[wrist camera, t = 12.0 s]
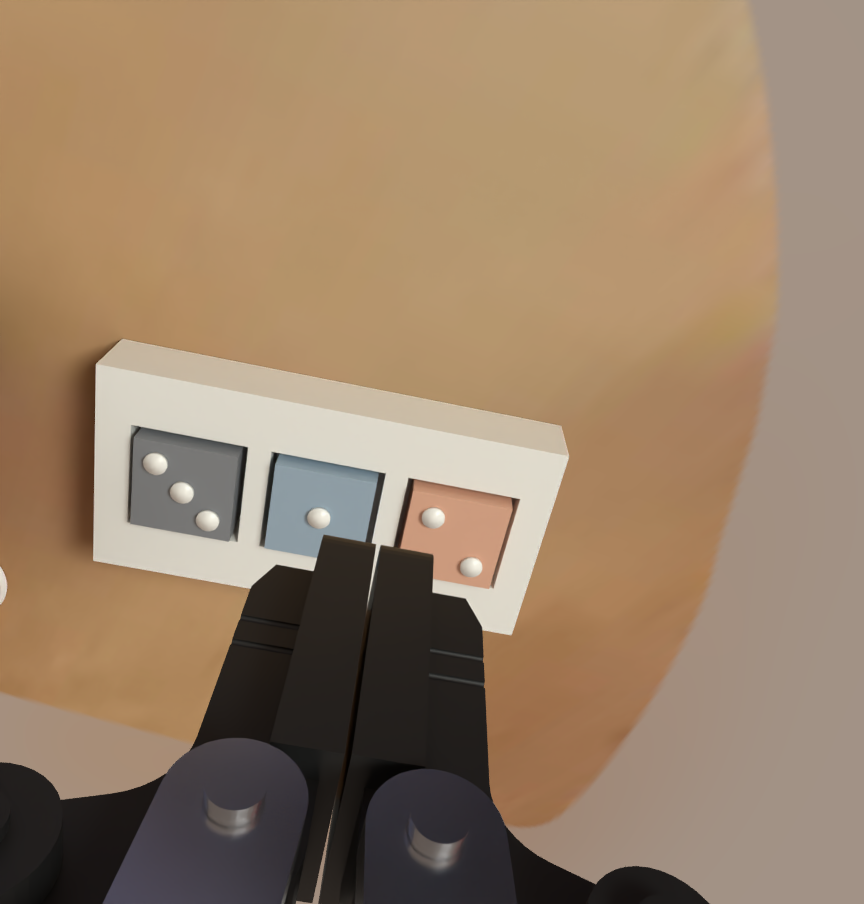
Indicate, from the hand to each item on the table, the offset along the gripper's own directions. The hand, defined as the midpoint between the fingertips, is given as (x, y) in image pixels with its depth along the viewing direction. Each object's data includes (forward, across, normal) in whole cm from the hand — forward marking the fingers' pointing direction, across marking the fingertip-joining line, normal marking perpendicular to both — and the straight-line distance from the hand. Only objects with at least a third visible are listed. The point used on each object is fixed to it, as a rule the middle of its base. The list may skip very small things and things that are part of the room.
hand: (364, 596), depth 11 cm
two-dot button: (+24, -4, +13) cm, 28 cm away
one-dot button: (+24, +2, +13) cm, 27 cm away
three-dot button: (+24, +8, +13) cm, 28 cm away
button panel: (+25, +2, +13) cm, 28 cm away
